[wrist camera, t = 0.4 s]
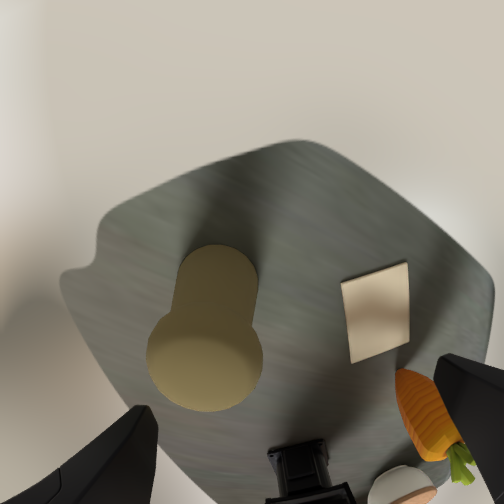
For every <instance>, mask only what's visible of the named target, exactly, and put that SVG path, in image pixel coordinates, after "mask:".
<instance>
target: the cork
mask: <svg viewBox="0 0 504 504" xmlns="http://www.w3.org/2000/svg"><path fill="white" fill-rule="evenodd" d="M257 292H258V277H257V274H256V271H255V268H254V266H253V264H252V263H251V262H250V260H249V259H248V258H247V257H246V256H245V255H244V254H242V253H241V252H240V251H238V250H237V249H235V248H232V247H228V246H225V245H207V246H204V247H201V248H198V249H196V250H195V251H193V252H192V253H191V254H189V255H188V256H187V257H186V258H185V259H184V261H183V263H182V264H181V266H180V267H179V271H178V275H177V279H176V285H175V290H174V295H173V301H172V306H171V312H169V313H168V314H167V315H165V316H164V317H162V318H161V319H160V320H159V322H158V323H157V325H156V327H155V328H154V330H153V331H152V333H151V335H150V337H149V339H148V345H147V351H146V362H147V366H148V371H149V374H150V376H151V378H152V380H153V382H154V383H155V385H156V386H157V388H158V389H159V391H160V392H161V393H162V394H164V395H165V396H166V397H167V398H168V399H169V400H171V401H172V402H174V403H176V404H178V405H180V406H182V407H184V408H188V409H192V410H196V411H211V412H214V411H219V410H224V409H228V408H230V407H232V406H234V405H236V404H238V403H240V402H241V401H242V400H243V399H245V398H246V397H247V396H248V395H249V394H250V393H251V392H252V391H253V390H254V389H255V387H256V384H257V382H258V380H259V378H260V375H261V372H262V364H263V353H262V347H261V344H260V342H259V339H258V337H257V334H256V332H255V330H254V329H253V328H252V321H253V315H254V310H255V304H256V298H257Z"/></svg>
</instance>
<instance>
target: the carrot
mask: <svg viewBox="0 0 504 504" xmlns="http://www.w3.org/2000/svg"><path fill="white" fill-rule="evenodd" d="M395 390H396V398H397V403H398V406H399V410H400V413H401V416H402V419H403V422H404V425H405V427H406V429H407V431H408V433H409V435H410V437H411V439H412V441H413V443H414V445H415V447H416V449H417V451H418V453H419V454H420V456H421V457H422V459H424V460H425V461H440V460H443V459H445V458H446V457H448V458H449V460H450V465H451V479H452V482H454V483H458V482H460V481H461V482H462V483H463V484H464V485H469V484H471V483H472V482H473V481H474V480H475V477H474V476H473V475H472V473H471V472H470V471H469V470H468V469H467V467H466V466H465V465H466V463H468V464H470V465H473V466H475V465H476V463H475V461H474V459H473V457H472V456H471V454H470V452H469V450H468V448H467V446H466V444H464V441H463V439H462V437H461V435H460V434H459V432H458V430H457V428H456V427H455V425H454V423H453V421H452V420H451V418H450V416H449V414H448V412H447V409H446V407H445V405H444V403H443V400H442V398H441V396H440V394H439V392H438V390H437V388H436V385H435V383H434V381H432V380H431V379H429V378H428V377H426V376H424V375H421V374H419V373H417V372H414V371H411V370H407V369H403V368H401V369H398V370H397V372H396V373H395Z"/></svg>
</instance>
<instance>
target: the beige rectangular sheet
mask: <svg viewBox="0 0 504 504" xmlns="http://www.w3.org/2000/svg"><path fill="white" fill-rule="evenodd" d="M341 289H342V296H343V303H344V310H345V317H346V325H347V333H348V341H349V350H350V360H351V363H355V362H358V361H361V360H364V359H367V358H369V357H372V356H375V355H377V354H380V353H382V352H385V351H388V350H390V349H393V348H395V347H397V346H400V345H402V344H405V343H407V342H409V282H408V265H407V263H406V262H404V263H401V264H398V265H395V266H392V267H389V268H386V269H383V270H380V271H377V272H374V273H371V274H368V275H365V276H362V277H358V278H355V279H352V280H349V281H346V282H342V283H341Z"/></svg>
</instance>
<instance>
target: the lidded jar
mask: <svg viewBox="0 0 504 504" xmlns="http://www.w3.org/2000/svg"><path fill="white" fill-rule="evenodd" d="M436 493H437V489H436V487H435V486H434V485H433V483H432V482H431V480H430V479H429V477H428V476H427V475H426V474H425V473H424V472H423V471H421V470H420V469H418V468H414V467H408V466H406V465H401V466H397V467H394V468H392V469H390V470H388V471H386V472H384V473H383V474H381V475H380V476H378V477H377V478H376V479H375V481H374V484H373V486H372V488H371V489H370V491H369V495H368V504H426V503H428V502H429V501H430V500H431V499H432V498H433V497H434V496H435V495H436Z"/></svg>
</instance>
